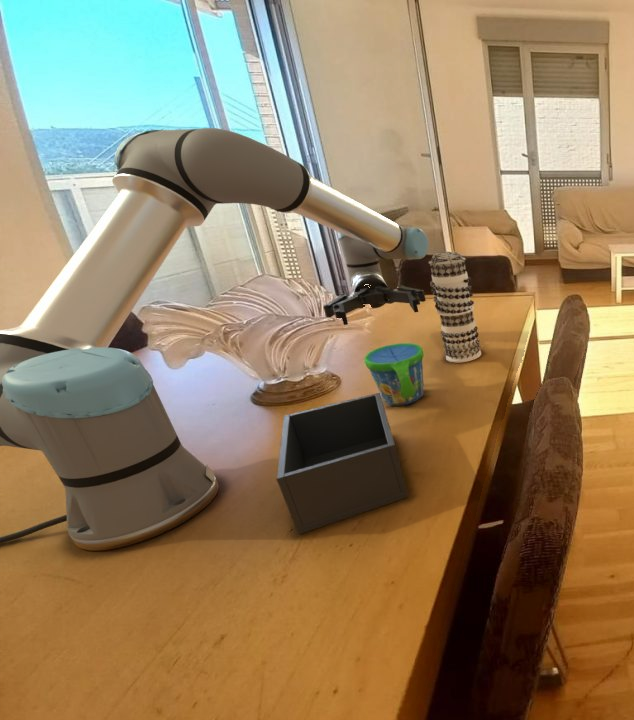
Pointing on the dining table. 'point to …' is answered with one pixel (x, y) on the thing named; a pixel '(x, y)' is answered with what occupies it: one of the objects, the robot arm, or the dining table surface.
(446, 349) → the decorative candle
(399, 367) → the snack cup
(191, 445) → the dining table surface
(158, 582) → the dining table surface
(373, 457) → the waste bin
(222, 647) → the dining table surface
